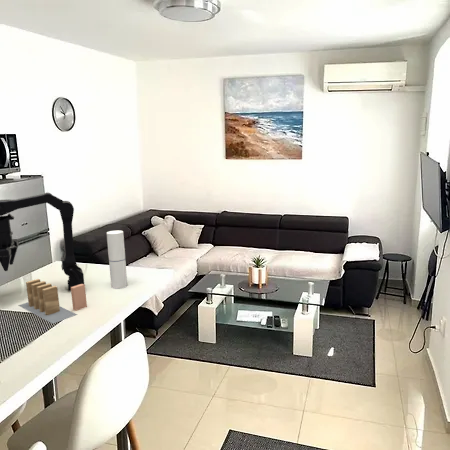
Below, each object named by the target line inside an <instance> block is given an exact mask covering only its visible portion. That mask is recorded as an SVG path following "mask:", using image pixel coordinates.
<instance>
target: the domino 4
mask: <svg viewBox="0 0 450 450" xmlns="http://www.w3.org/2000/svg"><path fill="white" fill-rule="evenodd" d="M42 291H43V299H44V307H45V314H46V315H50V314H53V313H56V312H59V311H60V307H61V306H60V300H59V299H60V298H59V292H58V286H57V285H53V286H52V287H49V288H45V289H42ZM59 306H60V307H59Z"/></svg>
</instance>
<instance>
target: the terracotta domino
mask: <svg viewBox="0 0 450 450" xmlns="http://www.w3.org/2000/svg"><path fill="white" fill-rule="evenodd" d="M70 292H71V304H72V310H73V311H75V312H77V311H79V310H82V309H85V308H87V307H88V304H87V303H88V302H87V301H88V300H87V293H86V284H85V283H84V284H80V285H77V286H73V287H71V291H70Z"/></svg>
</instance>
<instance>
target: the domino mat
mask: <svg viewBox="0 0 450 450" xmlns="http://www.w3.org/2000/svg"><path fill="white" fill-rule="evenodd" d="M18 307H20V308H22V309H24V310H26V311H28V312H29V313H31V314H33V315H35V316H37V317H39V318H40V319H43V320H45V321H47V322H48V323H50V324H56V323H59V322H61V321H63V320H64V321H65V320H67V319H70V318H72V317H75V316H78V314H77V313H74V312H73V311H71V310H69V309H67V308H64V307H62V306H60V305H59V307H60V311H59V312H56V313H53V314H50V315H46V314H45V312H40V310H39V309H37V310H36V309H34V306H32V307H30V306H29V302H28V301H27V302H25V303H21V304H18Z"/></svg>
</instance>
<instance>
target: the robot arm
mask: <svg viewBox="0 0 450 450" xmlns="http://www.w3.org/2000/svg"><path fill="white" fill-rule="evenodd" d="M43 204H49V205H50V206H51V207H53V208H54V209H56V210H58V211H59V213H60V214H59V215H60V217H61V222H62V229H63V230H62V232H63V244H64V245H63V246H64V257H61V258H60V260H61V271H63V272H64V274H65V275H66V276H68V280H67V288H68V291H70V292H71V287H73V286H77V285H80V284H84V285H85V277H84V272H83V270H82V268H81V267H80V266H79V265H78V263H77V260H76V258H75V251H74V238H73V237H74V236H73V220H74V219H73V218H74V213H75V208H74V206H73V203H72V202H70V201H69V200H63V199H61V198H59V197H57V196H55V195H53V194H52V193H50V192H44V193H39V194H35V195H31V196H27V197H22V198H16V199H0V265H1V266H2V268H3V271H4V272H8V271H9V268H10V267H9V266H12V265H14V261H15V259H16V255H17V252H18V248H19V245H20V243H19V240H18V239H17V238H13V236H12V235H14V233H13V232H14V231H12V230H11V229H12V228H11V223H10V221H12V220H15V216H14V215H12V214H11V213H12V212H14V211H17V210H19V209H25V208H29V207H33V206H34V207H35V206H39V205H43ZM6 214H7V215H6Z"/></svg>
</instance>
